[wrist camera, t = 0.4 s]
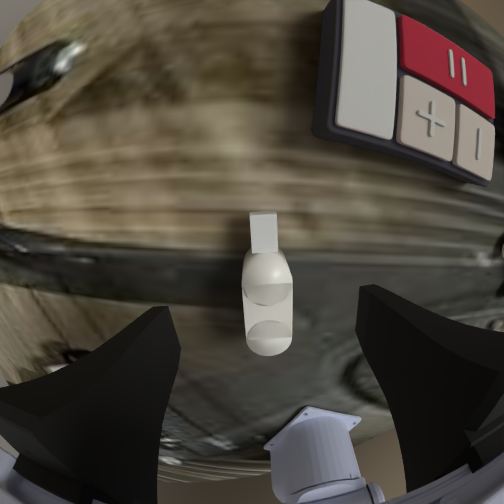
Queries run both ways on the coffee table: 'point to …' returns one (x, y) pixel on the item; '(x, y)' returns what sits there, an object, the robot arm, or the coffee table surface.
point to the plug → (266, 289)
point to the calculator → (403, 91)
